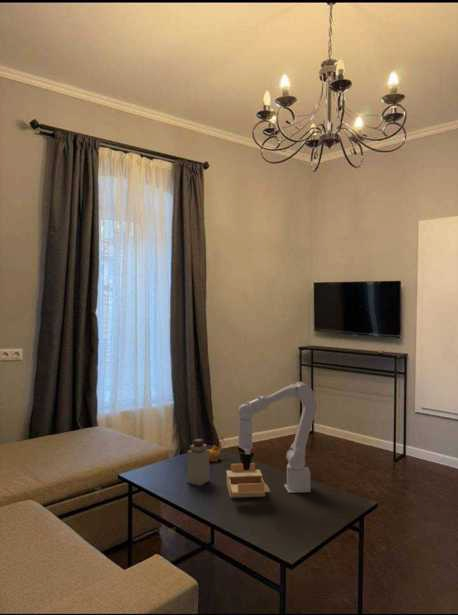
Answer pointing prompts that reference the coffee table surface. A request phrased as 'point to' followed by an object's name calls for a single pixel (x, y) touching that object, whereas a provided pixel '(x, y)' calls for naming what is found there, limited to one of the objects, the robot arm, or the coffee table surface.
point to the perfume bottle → (198, 463)
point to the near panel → (249, 488)
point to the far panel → (243, 471)
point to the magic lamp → (215, 451)
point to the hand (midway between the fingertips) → (245, 466)
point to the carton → (243, 481)
